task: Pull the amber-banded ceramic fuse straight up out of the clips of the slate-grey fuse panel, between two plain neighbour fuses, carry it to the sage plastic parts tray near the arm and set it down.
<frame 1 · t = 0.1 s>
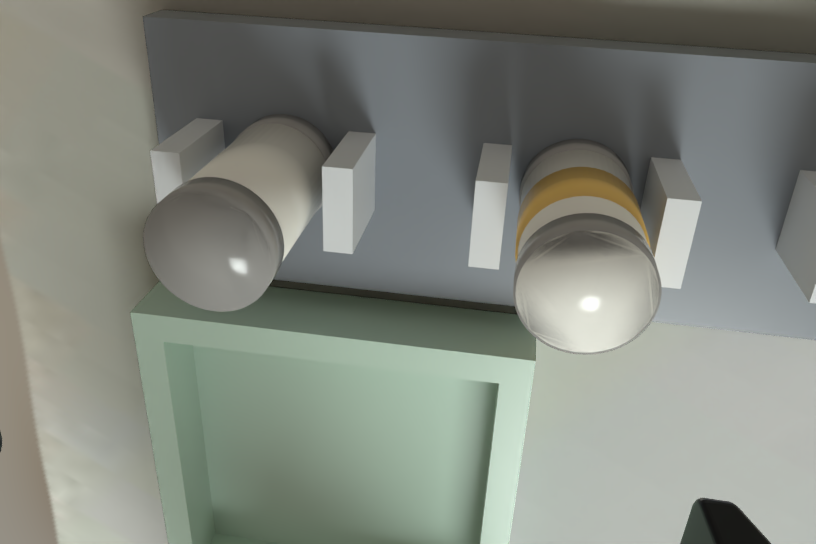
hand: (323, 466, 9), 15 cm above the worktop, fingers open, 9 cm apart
tray: (345, 440, 28), on the worktop
fuse marked: (574, 191, 21), point 1 cm above the worktop, touching fuse panel
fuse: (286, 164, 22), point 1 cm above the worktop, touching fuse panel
fuse panel: (572, 176, 22), on the worktop
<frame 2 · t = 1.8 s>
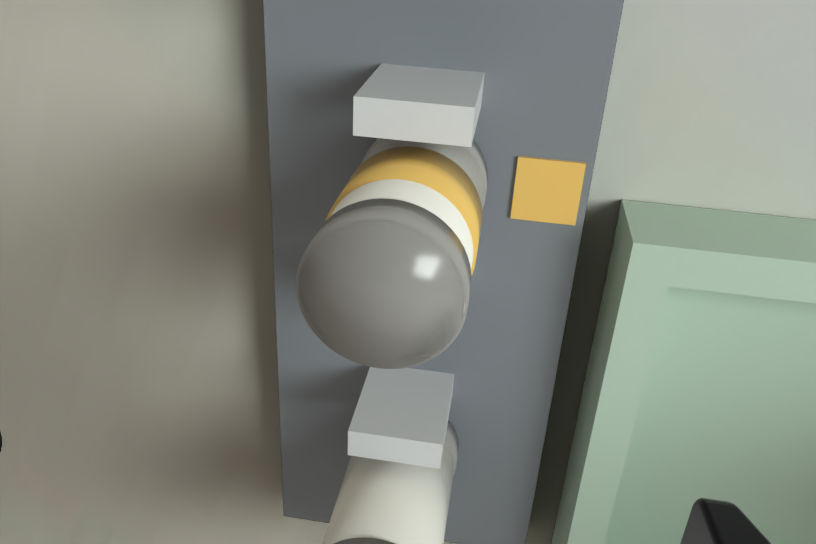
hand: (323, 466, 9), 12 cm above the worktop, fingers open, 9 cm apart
tray: (807, 430, 21), on the worktop
fuse marked: (425, 177, 18), point 1 cm above the worktop, touching fuse panel
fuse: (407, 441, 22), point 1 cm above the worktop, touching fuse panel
fuse panel: (431, 161, 19), on the worktop
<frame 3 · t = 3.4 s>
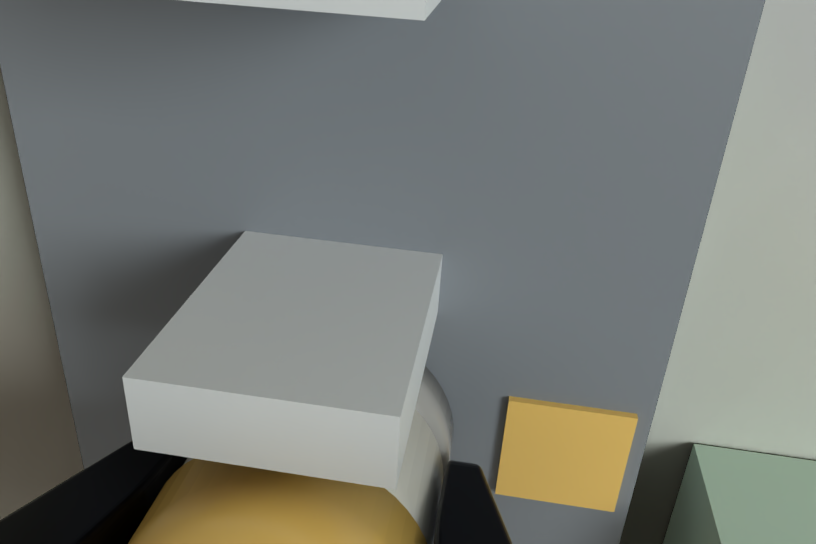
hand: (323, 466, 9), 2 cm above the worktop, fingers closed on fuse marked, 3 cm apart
fuse marked: (340, 420, 10), point 1 cm above the worktop, touching fuse panel, gripper
fuse panel: (359, 369, 11), on the worktop
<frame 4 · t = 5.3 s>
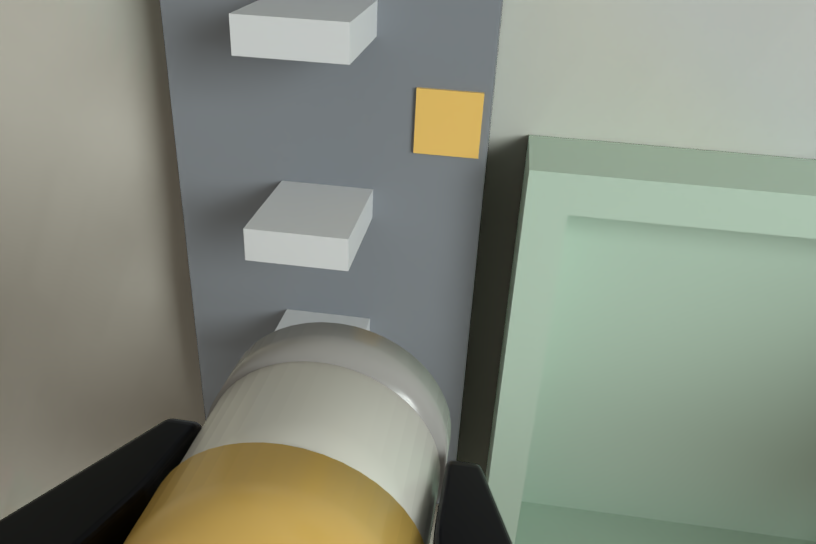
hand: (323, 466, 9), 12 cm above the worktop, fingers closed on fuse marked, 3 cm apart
tray: (727, 371, 21), on the worktop
fuse marked: (337, 419, 10), point 11 cm above the worktop, touching gripper
fuse panel: (337, 99, 19), on the worktop
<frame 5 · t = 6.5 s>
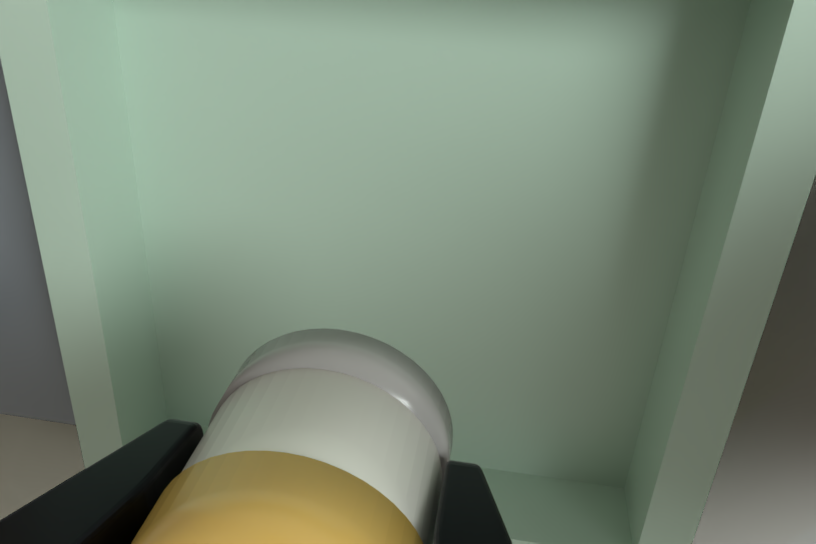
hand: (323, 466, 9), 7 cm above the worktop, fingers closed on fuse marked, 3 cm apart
tray: (403, 233, 15), on the worktop
fuse marked: (339, 425, 10), point 6 cm above the worktop, touching gripper
when the fingers open (3 cm above the worktop, at t = 7.3 s): fuse marked drops 1 cm, resting on tray.
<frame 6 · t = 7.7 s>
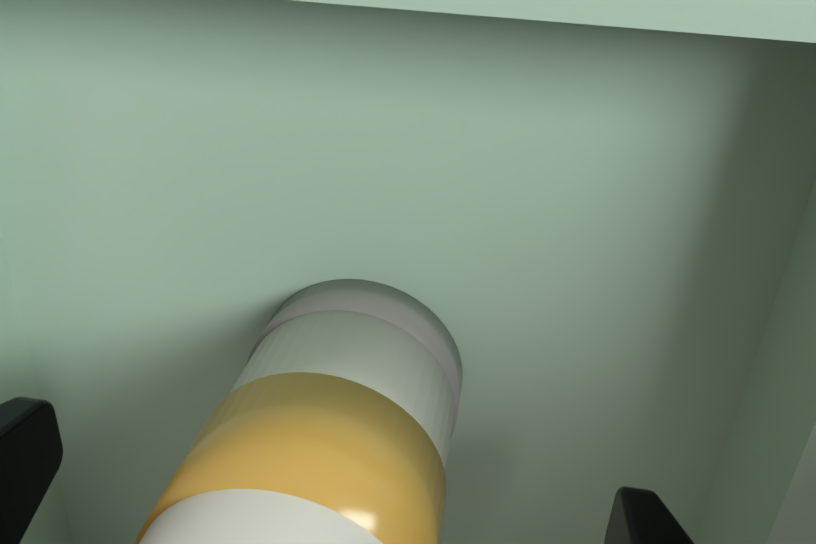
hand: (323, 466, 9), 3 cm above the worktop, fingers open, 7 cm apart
tray: (366, 344, 12), on the worktop
fuse marked: (360, 368, 11), point 1 cm above the worktop, touching tray
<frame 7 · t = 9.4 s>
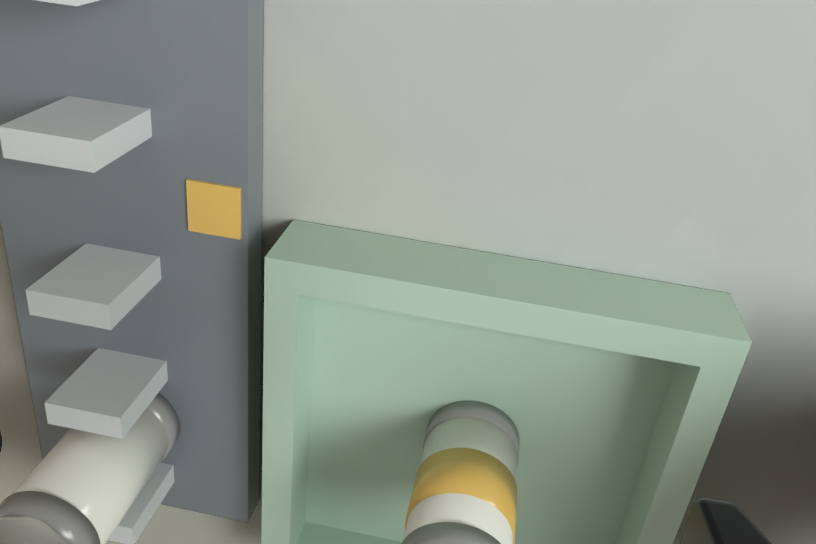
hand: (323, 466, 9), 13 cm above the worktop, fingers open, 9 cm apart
tray: (473, 425, 25), on the worktop
fuse marked: (472, 438, 24), point 1 cm above the worktop, touching tray
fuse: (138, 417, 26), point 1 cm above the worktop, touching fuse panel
fuse panel: (137, 178, 23), on the worktop
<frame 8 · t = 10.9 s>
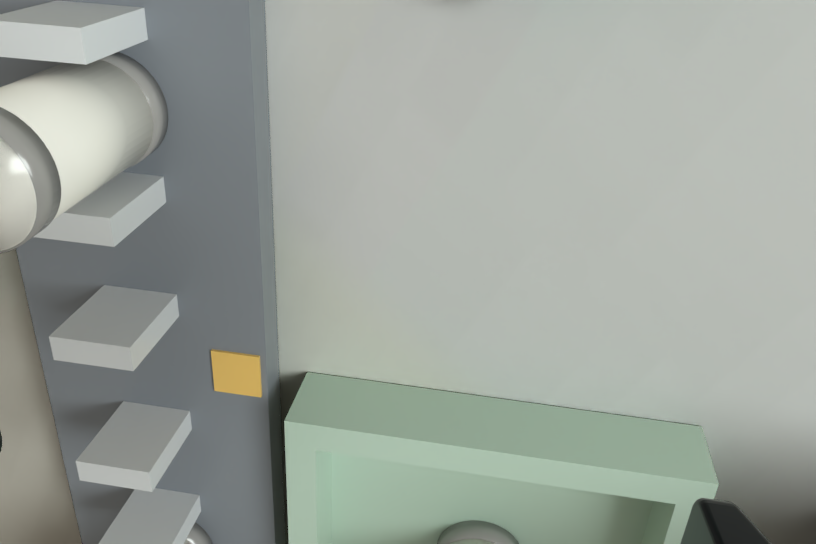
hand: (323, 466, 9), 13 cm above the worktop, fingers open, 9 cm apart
tray: (479, 537, 27), on the worktop
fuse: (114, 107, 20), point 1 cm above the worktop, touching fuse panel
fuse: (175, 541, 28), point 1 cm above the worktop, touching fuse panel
fuse panel: (166, 340, 25), on the worktop
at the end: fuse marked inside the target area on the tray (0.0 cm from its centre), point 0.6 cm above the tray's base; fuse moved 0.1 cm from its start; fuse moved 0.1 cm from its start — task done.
